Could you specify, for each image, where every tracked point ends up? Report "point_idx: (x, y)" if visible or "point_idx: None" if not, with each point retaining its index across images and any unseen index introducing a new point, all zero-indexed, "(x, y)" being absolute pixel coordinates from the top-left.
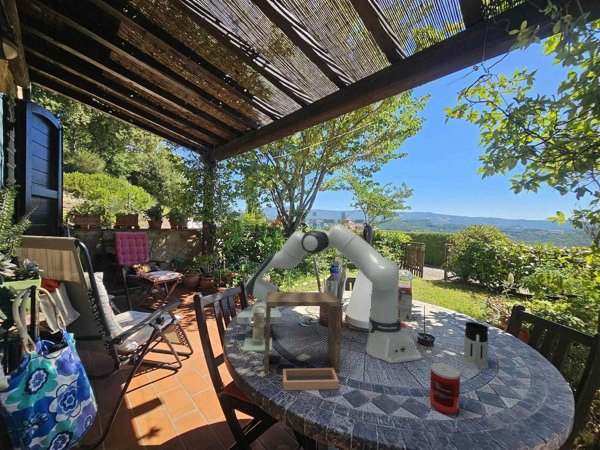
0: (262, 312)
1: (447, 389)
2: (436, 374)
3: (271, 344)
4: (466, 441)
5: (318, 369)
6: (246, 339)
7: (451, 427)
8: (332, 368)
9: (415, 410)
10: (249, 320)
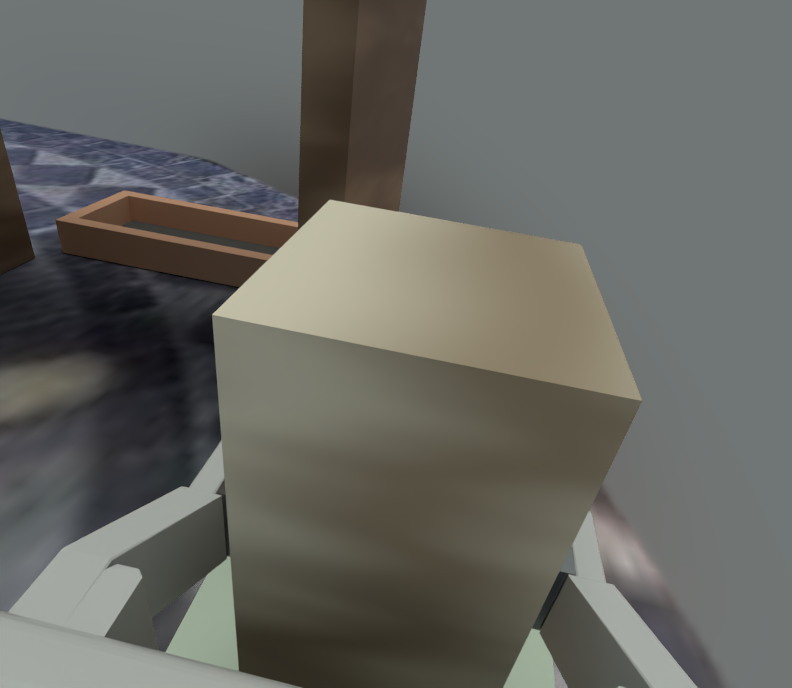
0: (361, 212)
1: None
2: None
3: (182, 632)
4: (35, 127)
5: (135, 229)
6: None
7: (11, 134)
8: (63, 219)
9: (14, 155)
10: (638, 625)
